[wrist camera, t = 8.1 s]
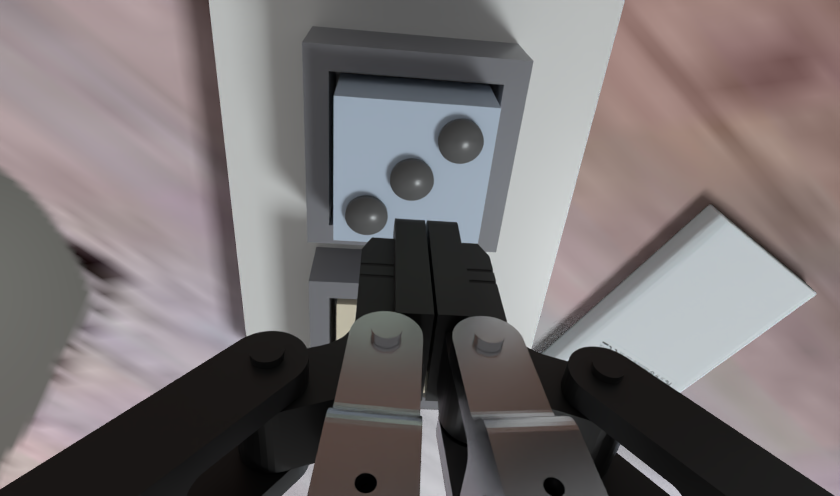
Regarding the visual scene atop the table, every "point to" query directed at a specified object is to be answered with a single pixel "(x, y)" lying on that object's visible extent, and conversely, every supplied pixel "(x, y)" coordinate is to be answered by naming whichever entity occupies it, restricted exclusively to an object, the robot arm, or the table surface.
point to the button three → (410, 154)
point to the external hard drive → (691, 303)
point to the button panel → (406, 58)
